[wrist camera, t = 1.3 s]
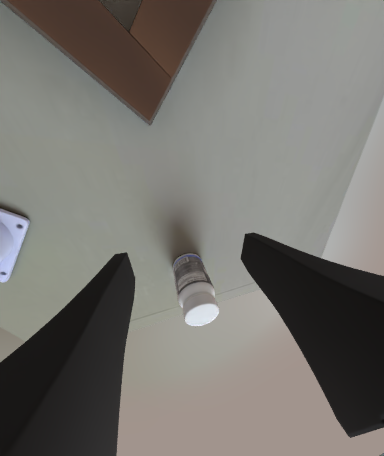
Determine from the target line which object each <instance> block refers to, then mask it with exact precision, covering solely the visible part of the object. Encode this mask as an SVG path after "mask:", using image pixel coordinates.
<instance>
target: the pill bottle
mask: <svg viewBox="0 0 384 456" xmlns="http://www.w3.org/2000/svg"><path fill="white" fill-rule="evenodd" d="M173 272H174V278H175V284H176V290H177V296H178V302H179V304H180V306H181V307H182V308H183V313H184V319H185V321H186V323H187V324H189V325H192V326H201V325H204V324H207V323H209V322H211V321H212V320H214V319H215V318H216V316H217V315H218V313H219V307H218V305H217V302H216V299H215V298H214V296H215V291H214V287H213V285H212V283H211V281H210V278H209V276H208V274H207V272H206V269H205V267H204V265H203V262H202V260H201V258H200V257H199V256H198V255H196V254H192V253H188V254H183V255H181V256H180V257H178V258H177V259H176V260H175V262H174V265H173Z"/></svg>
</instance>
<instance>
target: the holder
mask: <svg viewBox="0 0 384 456" xmlns="http://www.w3.org/2000/svg"><path fill="white" fill-rule="evenodd" d="M0 1H1V2H2V3H4V4H5V5H6V6H7V7H8V8H10V9H11V10H12V11H13V12H14V13H16V14H17V15H18V16H19V17H20V18H22V19H23V20H24V21H25V22H26V23H28V24H29V25H30V26H31V27H32V28H34V29H35V30H36V31H37V32H38V33H40V34H41V35H42V36H43V37H44V38H46V39H47V40H48V41H49V42H50V43H52V44H53V45H54V46H55V47H56V48H58V49H59V50H60V51H61V52H62V53H64V54H65V55H66V56H67V57H68V58H70V59H71V60H72V61H73V62H74V63H76V64H77V65H78V66H79V67H80V68H82V69H83V70H84V71H85V72H86V73H88V74H89V75H90V76H91V77H92V78H94V79H95V80H96V81H97V82H98V83H100V84H101V85H102V86H103V87H104V88H105V89H107V90H108V91H109V92H110V93H111V94H113V95H114V96H115V97H116V98H117V99H119V100H120V101H121V102H122V103H123V104H125V105H126V106H127V107H128V108H129V109H131V110H132V111H133V112H134V113H135V114H137V115H138V116H139V117H140V118H141V119H143V120H144V121H145V122H146V123H147V124H149V125H151V124H152V122H153V120H154V118H155V116H156V114H157V112H158V110H159V109H160V107H161V105H162V103H163V101H164V99H165V97H166V95H167V93H168V92H169V89H170V88H171V86H172V84H173V82H174V80H175V78H176V76H177V74H178V73H179V71H180V69H181V67H182V65H183V63H184V61H185V59H186V57H187V56H188V54H189V52H190V50H191V48H192V46H193V44H194V42H195V40H196V39H197V37H198V35H199V33H200V31H201V29H202V27H203V25H204V23H205V22H206V20H207V18H208V16H209V14H210V12H211V10H212V8H213V6H214V4H215V3H216V1H217V0H142V2H141V4H140V7H139V9H138V12H137V14H136V16H135V19H134V21H133V24H132V26H131V28H130V31H129V32H128V31H127V30H126V29H125V28H124V27H123V26H122V25H121V24H120V23H119V22H118V20H117V19H116V18H115V17H114V16H113V15H112V14H111V13H110V12H109V11H108V10H107V9H106V8H105V6H104V5H103V4H102V3H101V2H100V1H99V0H0Z"/></svg>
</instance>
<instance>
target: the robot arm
mask: <svg viewBox="0 0 384 456" xmlns="http://www.w3.org/2000/svg"><path fill="white" fill-rule="evenodd" d="M29 223H30V221H29V220H28V219H27V218H25V217H23V216H20V215H17V214H14V213H12V212H9V211H6V210H3V209H1V208H0V282H6V281H7V280H8V279H9V278H10V276H11V273H12V270H13V267H14V265H15V262H16V259H17V256H18V254H19V251H20V248H21V245H22V243H23V240H24V237H25V234H26V232H27V229H28V226H29ZM19 224H20V225H22V226H23V227H22V226H20V225H19ZM241 260H242V262H243V264H244V266H245V267H246V269H247V271H248V272H249V274H250V275H251V276H252V278H253V279H254V280H255V282H256V283H257V284H258V286H259V287H260V288H261V290H262V291H263V292H264V294H265V295H266V296H267V297H268V299H269V300H270V301H271V303H272V304H273V306H274V307H275V309H276V310H277V311H278V313H279V315H280V316H281V318H282V319H283V321H284V323H285V324H286V326H287V327H288V329H289V330H290V332H291V334H292V336H293V337H294V339H295V341H296V342H297V344H298V346H299V348H300V349H301V351H302V353H303V355H304V357H305V358H306V360H307V362H308V364H309V365H310V367H311V369H312V371H313V373H314V375H315V377H316V379H317V380H318V382H319V384H320V386H321V388H322V390H323V392H324V394H325V396H326V398H327V400H328V402H329V404H330V406H331V408H332V410H333V412H334V414H335V416H336V419H337V420H338V422H339V423H340V424H341V426H342V427H343V429H344V430H345V432H346V433H347V435H348V436H349V437H350V438H351V437H355V436H358V435H361V434H364V433H367V432H370V431H373V430H377V429H380V428H383V427H384V276H381V275H376V274H373V273H369V272H365V271H362V270H358V269H353V268H351V267H346V266H344V265H340V264H337V263H334V262H330V261H328V260H324V259H321V258H319V257H316V256H313V255H310V254H307V253H305V252H302V251H299V250H297V249H294V248H292V247H289V246H287V245H284V244H282V243H279V242H277V241H275V240H272V239H270V238H267V237H265V236H262V235H259V234H256V233H248V234H245V237H244V243H243V249H242V254H241ZM134 293H135V276H134V273H133V270H132V267H131V263H130V260H129V257H128V254H127V253H120V254H115V255H114V256H113V257H112V258H111V259H110V260H109V261H108V263H107V264H106V265H105V266H104V267H103V268H102V269H101V270H100V271H99V273H98V274H97V275H96V276H95V277H94V278H93V279H92V280H91V281H90V282H89V283H88V284H87V285H86V286H85V287H84V288H83V289H82V290H81V291H80V292H79V293H78V294H77V295H76V296H75V297H74V298H73V299H72V300H71V301H70V302H69V303H68V304H67V305H66V306H65V307H64V308H63V309H62V310H61V311H60V312H59V313H58V314H57V315H56V316H55V317H54V318H52V319H51V320H50V321H49V322H48V323H47V324H46V325H45V326H43V327H42V328H41V329H40V330H39V331H38V332H37V333H36V334H34V335H33V336H32V337H31V338H30V339H29V340H27V341H26V342H25V343H24V344H23V345H21V346H20V347H19V348H18V349H16V350H15V351H14V352H13V353H12V354H10V355H9V356H8V357H7V358H5V359H4V360H3V361H2V362H1V363H0V456H116V453H117V438H118V422H119V408H120V396H121V384H122V372H123V362H124V352H125V346H126V339H127V334H128V328H129V323H130V317H131V312H132V306H133V301H134ZM380 456H384V453H383V454H381V455H380Z"/></svg>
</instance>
